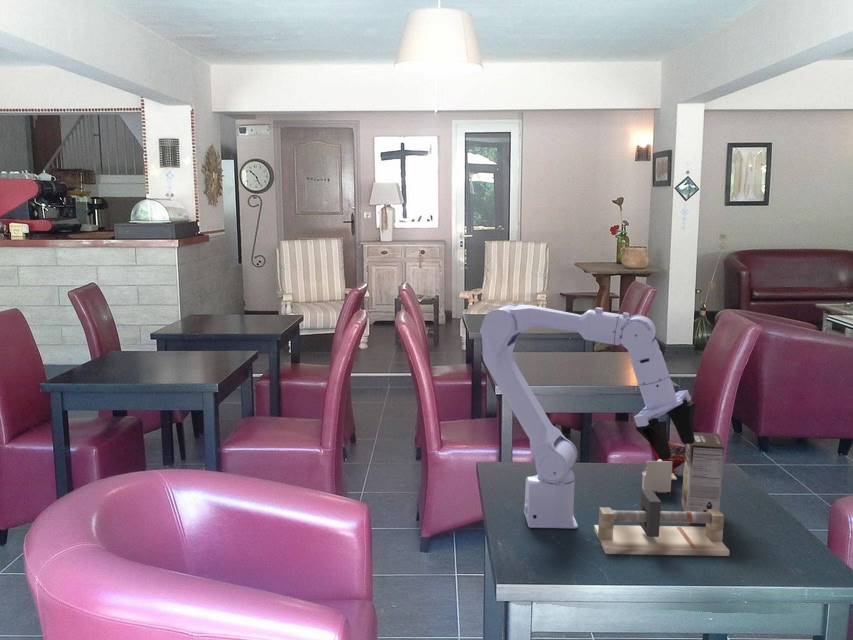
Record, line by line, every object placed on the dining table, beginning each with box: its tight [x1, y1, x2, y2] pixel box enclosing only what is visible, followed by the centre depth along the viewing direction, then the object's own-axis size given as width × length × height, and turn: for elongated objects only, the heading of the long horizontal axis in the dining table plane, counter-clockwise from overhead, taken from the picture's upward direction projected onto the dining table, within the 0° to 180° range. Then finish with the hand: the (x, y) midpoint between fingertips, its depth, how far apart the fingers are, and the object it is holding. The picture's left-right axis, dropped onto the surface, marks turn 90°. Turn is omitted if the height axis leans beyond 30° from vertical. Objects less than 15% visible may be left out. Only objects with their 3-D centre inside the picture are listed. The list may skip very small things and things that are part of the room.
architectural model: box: [641, 459, 678, 493], centre depth 166 cm, size 3×7×7 cm, turn 88°
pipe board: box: [593, 506, 730, 557], centre depth 139 cm, size 22×10×6 cm, turn 90°
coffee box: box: [681, 431, 726, 525], centre depth 151 cm, size 9×6×16 cm
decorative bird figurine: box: [647, 440, 685, 474], centre depth 176 cm, size 3×18×10 cm, turn 112°
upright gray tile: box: [639, 490, 662, 537], centre depth 139 cm, size 2×5×7 cm, turn 0°
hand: (677, 450), depth 138 cm, fingers open, 7 cm apart
